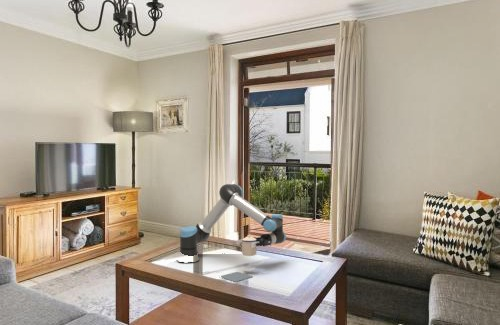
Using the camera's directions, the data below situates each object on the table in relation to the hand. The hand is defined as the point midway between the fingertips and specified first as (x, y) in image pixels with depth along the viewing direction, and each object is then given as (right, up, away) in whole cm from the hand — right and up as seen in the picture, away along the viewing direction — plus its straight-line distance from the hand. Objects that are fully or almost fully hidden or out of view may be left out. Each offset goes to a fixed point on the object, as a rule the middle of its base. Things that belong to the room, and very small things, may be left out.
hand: (243, 243), depth 187 cm
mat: (-4, -17, -8) cm, 19 cm away
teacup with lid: (+2, -7, +2) cm, 7 cm away
